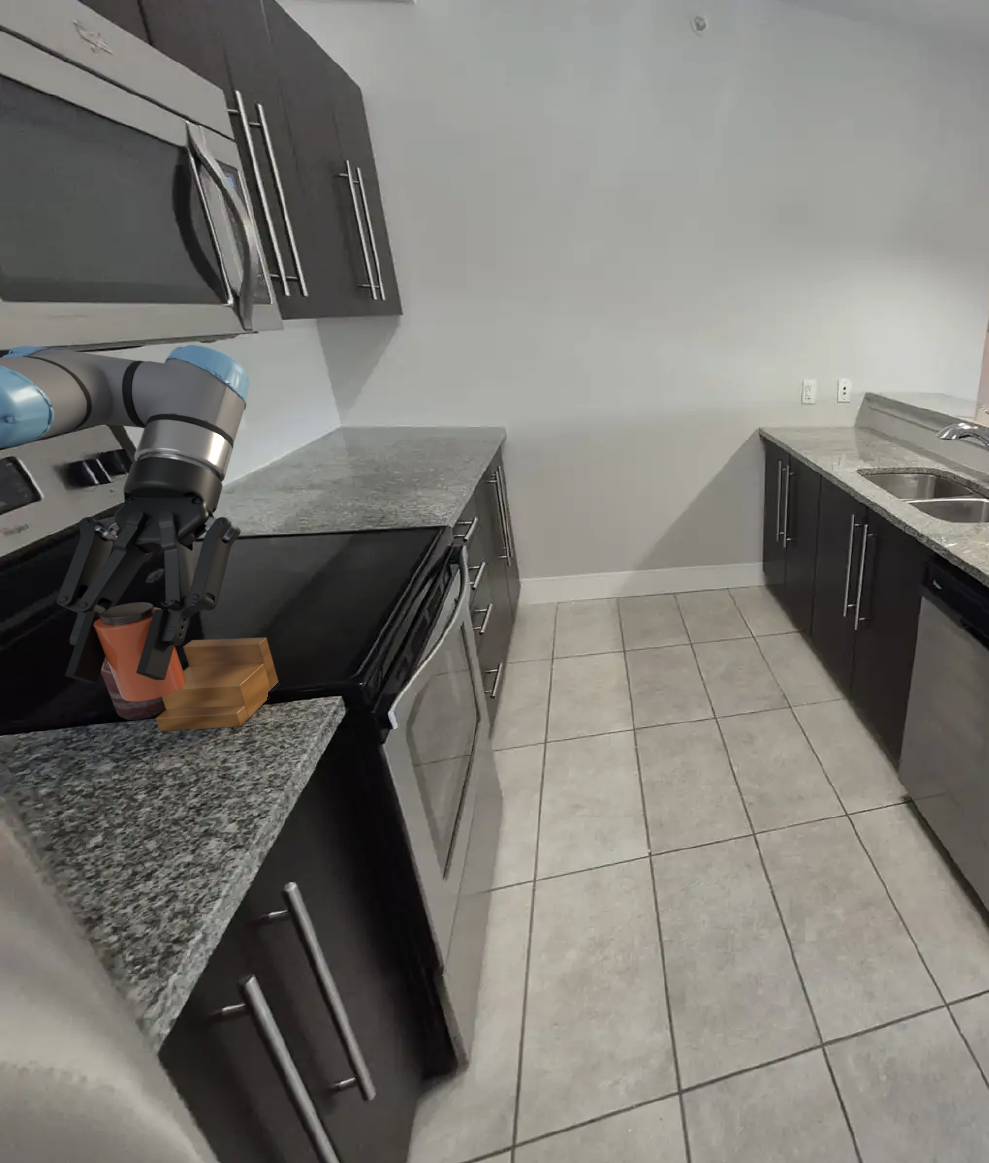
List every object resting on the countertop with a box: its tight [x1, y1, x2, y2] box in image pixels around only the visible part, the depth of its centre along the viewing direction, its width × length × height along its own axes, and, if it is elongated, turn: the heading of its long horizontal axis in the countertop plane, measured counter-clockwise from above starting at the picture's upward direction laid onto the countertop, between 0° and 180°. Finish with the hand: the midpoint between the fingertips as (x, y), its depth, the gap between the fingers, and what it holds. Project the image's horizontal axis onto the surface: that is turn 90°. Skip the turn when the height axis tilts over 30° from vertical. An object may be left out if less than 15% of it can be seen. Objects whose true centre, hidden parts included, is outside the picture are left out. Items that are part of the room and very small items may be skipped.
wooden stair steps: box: [155, 637, 279, 732], centre depth 85 cm, size 9×10×8 cm
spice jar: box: [94, 601, 186, 701], centre depth 65 cm, size 5×5×9 cm
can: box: [100, 656, 166, 721], centre depth 83 cm, size 6×6×14 cm
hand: (116, 677), depth 62 cm, fingers closed on spice jar, 5 cm apart
